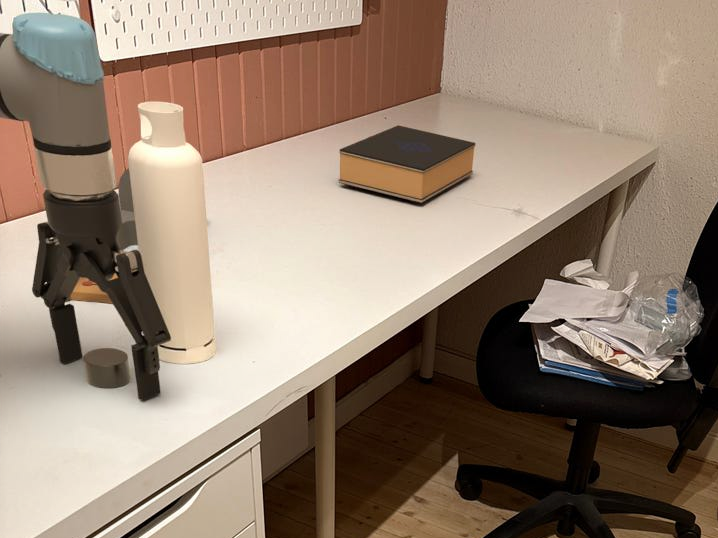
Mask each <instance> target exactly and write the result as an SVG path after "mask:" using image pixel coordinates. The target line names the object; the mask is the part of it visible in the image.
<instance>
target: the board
mask: <svg viewBox="0 0 718 538" xmlns="http://www.w3.org/2000/svg"><path fill="white" fill-rule="evenodd" d="M115 278H118V277H117V275H116V273H115V274H114V276H113V278H112V279H115ZM112 279H110V280H112ZM70 297H71V298H70V299H72V301H81V302H82V301H83V302H91V303H92V302H93V303H103V304H113V303H112V301H111V300H110V298H109V296H108V295H107V293H105V292H102V291H101V290H100V288H99V287H98V285H97V284H96V283H94V282H92V281H90V280H89V279H88V278H82V277H80V279H79V280H78V282H77V284H76V286H75V288H74V290H73V292H72V294H71V296H70Z"/></svg>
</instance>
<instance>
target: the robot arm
mask: <svg viewBox="0 0 718 538" xmlns="http://www.w3.org/2000/svg"><path fill="white" fill-rule="evenodd" d="M11 26H12V33H5V32H4V33H3V32H0V119H6V120H13V121H16V122H17V121H18V122H27V123H28V124H29V128H30V131H31V137H32V142H33V149H34V155H35V161H36V167H37V172H38V178H39V183H40V186H41V187H42V188H43V189H44V192H43V193H42V198H43V203H44V204H43V205H44V209H45V215H46V219H47V221H43V222H40V223H38V224H37V225H36V227H37V235H38V247H37V253H36V261H35V266H34V267H35V268H34V274H33V281H32V288H31V291H32V294H33V296H34V297H35V298H41V299H42V300H43V303H44V305H45V307H46V308H48V311H49V317H50V322H51V328H52V330H53V332H54V338H55V343H56V347H57V352H58V357H59V362H60V363H62V364H63V365H65V364H68V363H71V362H74V361H76V360H79V359H83V358H84V355H83V351H82V346H81V339H80V333H79V328H78V322H77V317H76V310H75V306H74V305H73V304H71V303H69V302H72V301H73V300H72V299H70V298H71V297H70V296H71V294H72V292H73V290H74V288H75V286H76V284H77V282H78V280H79V279H80V277H82V278H88V279H89V280H90V281H92V282H94V283H96V284H97V285H98V287H99V288H100V290H101V291H102V292H105V293H107V295H108V296H109V298H110V300H111V301H112V303H111V304H112V305H113V307H114V308H115V310H116V311H117V313H118V315H119V317H120V319H121V320H122V322H123V323H124V325H125V327H126V328H127V330H128V332H129V333H130V335H131V337H132V339H133V340H134V342H135V343H134V344H131V345H130V347H131V355H132V362H133V370H134V375H135V382H136V383H135V384H136V391H137V397H138V399H139V400H140V401H146V400H148V399H150V398H152V397H155V396H157V395H160V394H162V393H161V383H160V375H159V371H160V369H161V364H160V359H159V354H158V346H159V345H160V346H162V345H161V344H164V343H166V342H169V341H170V340H171V336H170V333H169V331H168V329H167V326H166V324H165V321H164V319H163V316H162V314H161V312H160V309H159V307H158V304H157V302H156V299H155V297H154V294H153V292H152V290H151V287H150V285H149V282H148V280H147V277H146V275H145V273H144V268H143V262H142V257H141V254H140V252H139V249H132V250H130V251H126V250H121V249H120V247H119V245H118V242H117V238H116V237H117V234H118V232H119V230H120V229H121V227H122V217H121V209H120V201H119V193H117V192H116V190H115V189H116V188H117V184H118V183H117V177H116V170H115V169H116V168H115V161H114V156H113V148H112V141H111V135H110V128H109V120H108V119H109V118H108V110H107V101H106V94H105V85H104V80H105V79H104V78H105V72H104V69H103V67H102V62H101V58H100V52H99V47H98V46H99V45H98V41H97V37H96V32H95V31H94V29H93V27H92V26H91V24H90V23H88V22H87V21H86V20H84V19H82V18H79V17H77V16H74V15H68V14H62V13H55V14H54V13H49V12H26V13H22V14H18V15H16V16H15V17H14V18H13V21H12V24H11ZM115 273H116V275H117V277H118V278H115V279H112V278H113V276H114V274H115ZM110 279H112V280H110Z"/></svg>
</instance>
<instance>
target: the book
mask: <svg viewBox="0 0 718 538" xmlns="http://www.w3.org/2000/svg"><path fill="white" fill-rule="evenodd" d="M475 148H476V142H473V141H469V140H465V139H461V138H456V137H452V136H447V135H442V134H439V133H435V132H429V131H425V130H421V129H416V128H411V127H409V126H408V127H407V126H403V125H396V126H393V127H391V128H388V129H386V130H383V131H381V132H379V133H376V134H373V135H371V136H368V137H366V138H364V139H361V140H358V141H356V142H354V143H352V144H349V145H347V146H345V147H342V148H340V149H339V179H338V183H339V184H341V185H342V184H343V185H345V186H350V187H352V188H353V189H363V190H367V191H371V192H375V193H379V194H384V195H387V196H391V197H395V198H399V199H404V200H407V201H409V202H410V203H413V204H414V203H419V204H423V203H424V202H426V201H428V200H429V199H432V198H433V197H435V196H436V195H438V194H440V193H442V192H443V191H446V190H447V189H449V188H450V187H452V186H454V185H456V184H458V183H460V182H461V181H463V180H464V179H466V178H468V177H470V176H471V175H473V172H474V170H473V166H474V165H473V164H474V156H475V155H474V154H475Z"/></svg>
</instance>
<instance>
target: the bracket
mask: <svg viewBox="0 0 718 538" xmlns="http://www.w3.org/2000/svg"><path fill="white" fill-rule="evenodd" d="M118 195H119V202H120V210H121V217H122V227H121V229H120V230H119V232H118V234H117V237H116V238H117V242H118V245H119V247H120V249H121V250H122V251H124V250H126V248H128V247H130V246H137V245H138V240H137V232H136V223H135V215H134V206H133V198H132V190H131V181H130V173H129V167H128V168H127V169H125V170H124V171H123V173H122V175H120V178H119V181H118Z"/></svg>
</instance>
